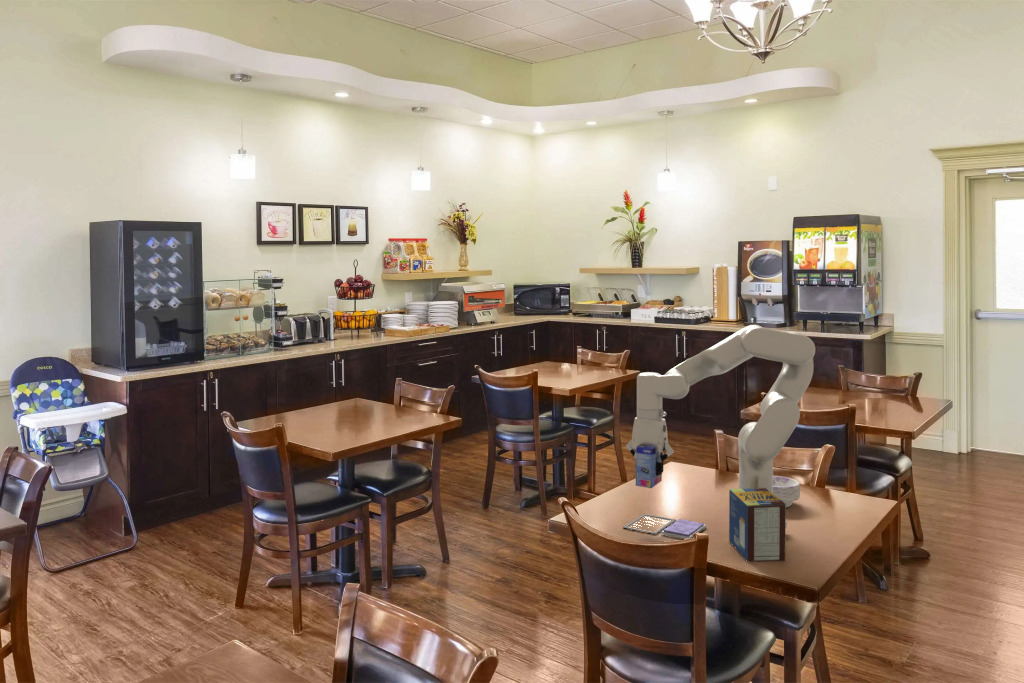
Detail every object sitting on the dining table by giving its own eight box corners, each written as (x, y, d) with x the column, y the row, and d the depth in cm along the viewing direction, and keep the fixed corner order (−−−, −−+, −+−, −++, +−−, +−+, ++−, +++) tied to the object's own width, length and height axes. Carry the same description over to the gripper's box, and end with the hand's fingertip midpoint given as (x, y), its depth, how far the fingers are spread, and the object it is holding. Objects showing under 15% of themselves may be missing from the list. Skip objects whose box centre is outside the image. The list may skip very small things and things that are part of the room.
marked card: (675, 521, 235) (675, 519, 235) (655, 535, 223) (655, 533, 223) (644, 515, 241) (644, 513, 241) (622, 528, 229) (622, 526, 229)
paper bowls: (792, 497, 257) (792, 474, 256) (805, 511, 242) (805, 487, 241) (746, 497, 258) (746, 474, 258) (755, 511, 243) (756, 486, 242)
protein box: (764, 540, 218) (765, 487, 216) (785, 561, 202) (786, 503, 201) (728, 541, 217) (728, 488, 216) (746, 562, 202) (747, 505, 200)
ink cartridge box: (652, 489, 225) (652, 440, 224) (634, 486, 228) (634, 438, 227) (663, 480, 234) (663, 434, 233) (646, 478, 237) (645, 432, 235)
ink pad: (706, 527, 229) (706, 523, 228) (689, 540, 218) (689, 535, 218) (678, 522, 234) (678, 518, 233) (661, 535, 223) (661, 530, 223)
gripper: (681, 414, 227) (681, 474, 229) (629, 409, 237) (629, 466, 239) (671, 419, 221) (670, 480, 223) (617, 413, 231) (617, 471, 233)
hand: (649, 472), depth 231 cm, fingers closed on ink cartridge box, 5 cm apart
